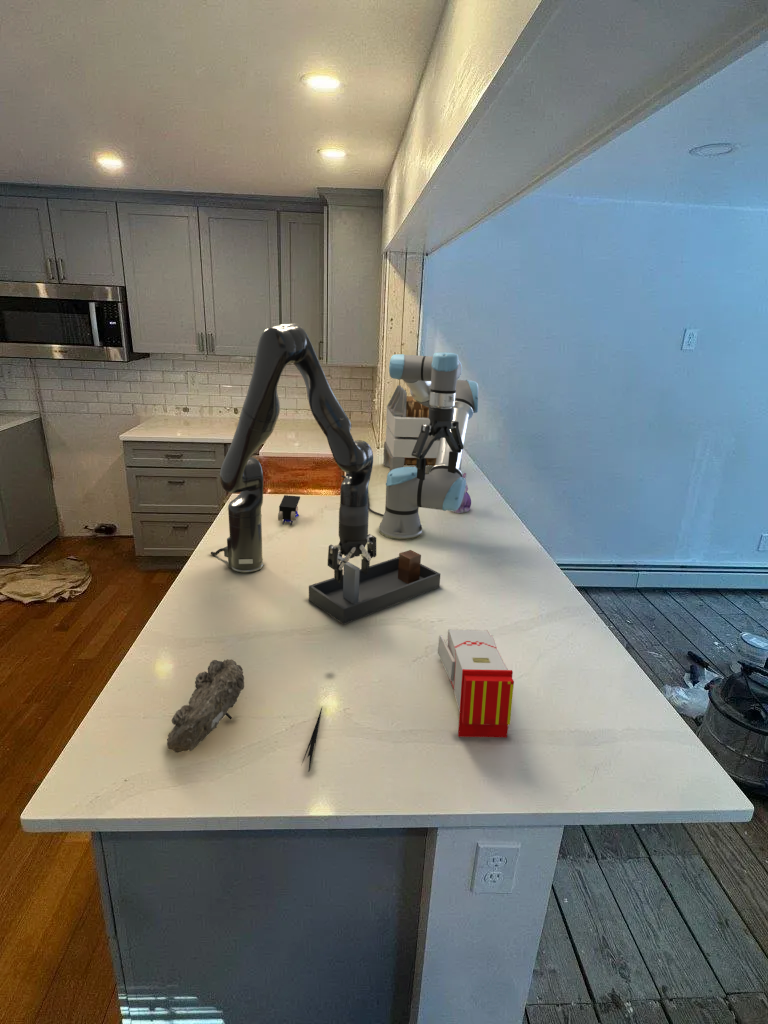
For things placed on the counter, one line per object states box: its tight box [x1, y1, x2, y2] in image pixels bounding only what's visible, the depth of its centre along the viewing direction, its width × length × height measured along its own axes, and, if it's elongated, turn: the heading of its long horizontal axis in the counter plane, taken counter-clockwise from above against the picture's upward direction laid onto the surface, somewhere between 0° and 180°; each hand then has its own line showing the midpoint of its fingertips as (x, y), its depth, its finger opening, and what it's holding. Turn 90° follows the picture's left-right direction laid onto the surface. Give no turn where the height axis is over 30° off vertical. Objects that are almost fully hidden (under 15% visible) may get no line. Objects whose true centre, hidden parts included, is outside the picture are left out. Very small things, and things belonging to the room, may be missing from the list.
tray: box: [308, 556, 441, 625], centre depth 156 cm, size 16×34×11 cm, turn 131°
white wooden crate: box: [383, 384, 463, 472], centre depth 268 cm, size 34×33×41 cm
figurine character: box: [277, 494, 301, 526], centre depth 207 cm, size 7×8×15 cm
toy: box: [437, 628, 515, 738], centre depth 117 cm, size 12×13×30 cm
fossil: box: [166, 658, 245, 754], centre depth 106 cm, size 22×10×15 cm
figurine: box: [452, 472, 472, 514], centre depth 224 cm, size 9×10×15 cm
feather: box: [301, 673, 332, 771], centre depth 108 cm, size 2×28×2 cm
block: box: [398, 549, 422, 584], centre depth 164 cm, size 4×4×8 cm
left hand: (352, 577), depth 150 cm, fingers open, 8 cm apart
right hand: (436, 475), depth 175 cm, fingers open, 13 cm apart
